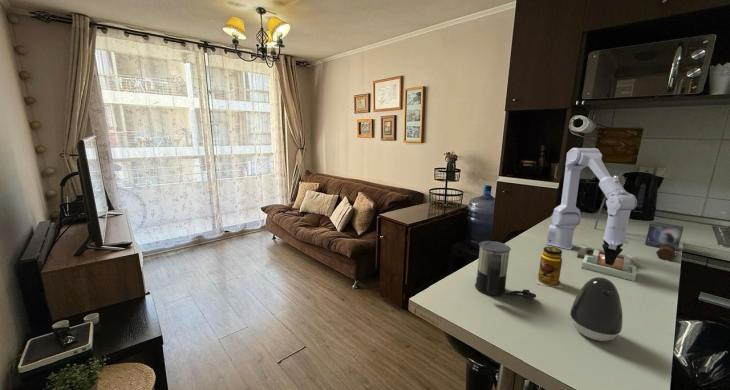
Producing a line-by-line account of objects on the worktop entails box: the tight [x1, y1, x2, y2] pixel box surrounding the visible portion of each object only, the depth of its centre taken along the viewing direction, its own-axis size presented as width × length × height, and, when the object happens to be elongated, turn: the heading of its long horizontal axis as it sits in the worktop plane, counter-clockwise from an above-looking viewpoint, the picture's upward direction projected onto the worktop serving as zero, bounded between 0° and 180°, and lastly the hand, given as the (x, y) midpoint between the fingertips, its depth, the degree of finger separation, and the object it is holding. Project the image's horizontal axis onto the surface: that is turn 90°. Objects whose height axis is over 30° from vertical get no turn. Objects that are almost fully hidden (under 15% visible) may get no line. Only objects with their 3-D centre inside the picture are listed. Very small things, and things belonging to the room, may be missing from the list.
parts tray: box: [581, 255, 637, 282], centre depth 110 cm, size 15×9×2 cm, turn 49°
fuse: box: [591, 249, 630, 272], centre depth 109 cm, size 10×5×5 cm, turn 49°
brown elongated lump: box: [655, 243, 677, 262], centre depth 124 cm, size 6×5×15 cm
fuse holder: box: [576, 243, 634, 266], centre depth 119 cm, size 17×11×4 cm, turn 49°
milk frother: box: [474, 240, 537, 299], centre depth 92 cm, size 14×16×15 cm
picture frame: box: [644, 220, 684, 253], centre depth 133 cm, size 11×6×10 cm, turn 41°
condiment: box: [533, 245, 564, 289], centre depth 100 cm, size 7×8×12 cm
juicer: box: [594, 174, 626, 230], centre depth 148 cm, size 10×11×30 cm
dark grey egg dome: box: [569, 276, 623, 342], centre depth 73 cm, size 10×10×15 cm
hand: (609, 262), depth 109 cm, fingers closed on fuse, 4 cm apart
